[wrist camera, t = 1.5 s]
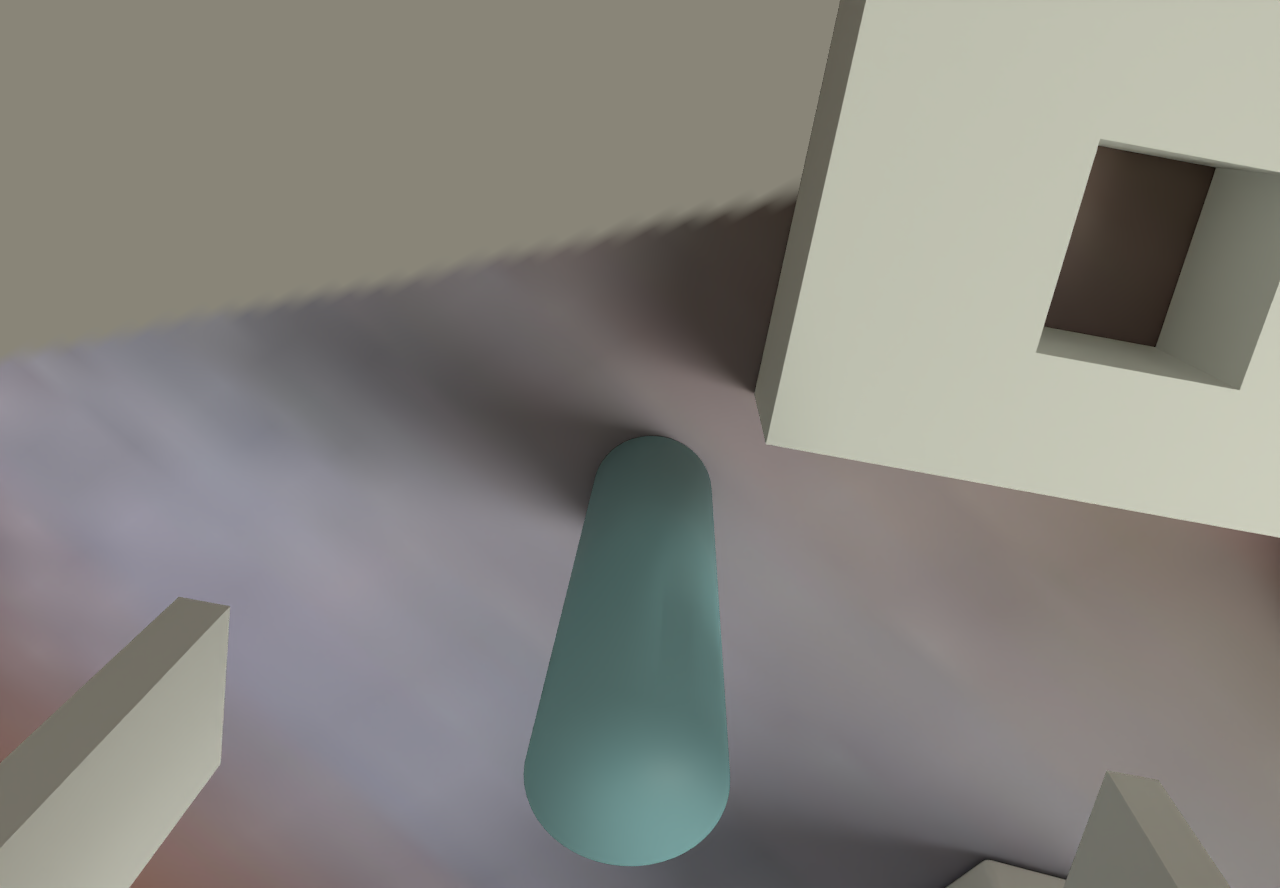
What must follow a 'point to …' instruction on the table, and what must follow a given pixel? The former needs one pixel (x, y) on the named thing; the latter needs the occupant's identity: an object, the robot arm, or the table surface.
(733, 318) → the table surface
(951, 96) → the socket block
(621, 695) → the peg
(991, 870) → the jar
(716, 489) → the table surface
